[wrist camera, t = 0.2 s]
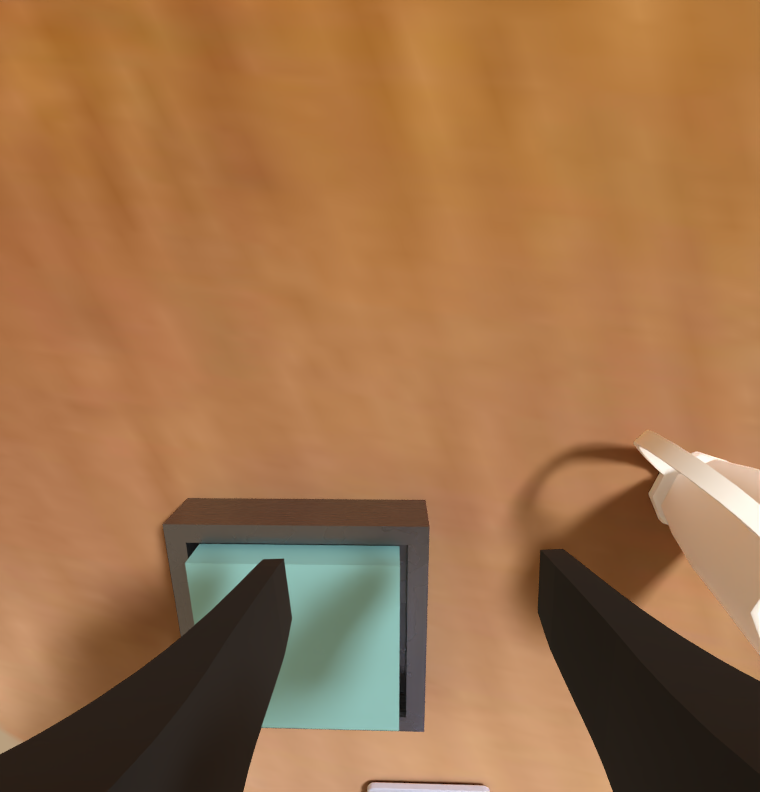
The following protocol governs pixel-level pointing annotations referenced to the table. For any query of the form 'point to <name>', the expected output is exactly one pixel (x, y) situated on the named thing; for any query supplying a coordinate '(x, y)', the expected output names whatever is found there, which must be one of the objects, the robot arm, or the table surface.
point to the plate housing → (320, 527)
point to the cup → (712, 523)
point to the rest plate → (322, 629)
